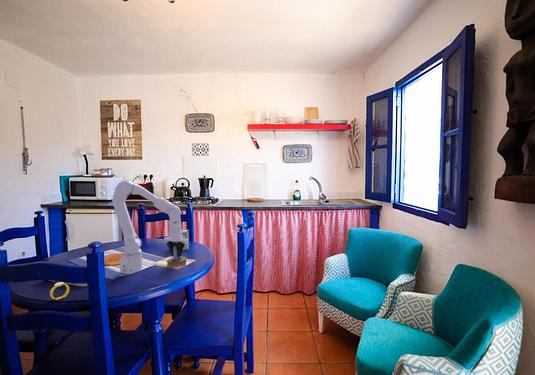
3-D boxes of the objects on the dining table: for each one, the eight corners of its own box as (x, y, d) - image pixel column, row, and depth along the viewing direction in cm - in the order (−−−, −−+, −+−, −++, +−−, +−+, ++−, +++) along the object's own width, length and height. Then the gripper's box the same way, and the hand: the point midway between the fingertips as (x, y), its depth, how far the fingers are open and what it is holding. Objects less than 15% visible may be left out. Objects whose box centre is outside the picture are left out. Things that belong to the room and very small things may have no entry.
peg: (177, 263, 136) (176, 248, 135) (172, 262, 137) (171, 247, 137) (181, 261, 139) (181, 246, 138) (176, 260, 140) (176, 245, 139)
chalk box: (174, 247, 170) (173, 224, 169) (189, 246, 171) (188, 223, 170) (171, 252, 161) (170, 227, 160) (186, 251, 162) (185, 226, 161)
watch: (53, 302, 101) (51, 288, 100) (50, 301, 102) (47, 286, 102) (71, 295, 106) (69, 280, 105) (67, 293, 108) (65, 279, 107)
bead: (177, 268, 132) (177, 263, 132) (163, 265, 136) (163, 260, 136) (189, 262, 140) (189, 257, 140) (176, 260, 144) (176, 255, 144)
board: (177, 270, 131) (177, 269, 131) (150, 265, 138) (150, 264, 138) (196, 261, 143) (196, 260, 143) (171, 257, 151) (171, 256, 151)
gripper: (192, 229, 137) (193, 255, 138) (170, 227, 143) (171, 252, 144) (182, 232, 131) (183, 259, 132) (160, 230, 137) (161, 256, 138)
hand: (176, 256), depth 138 cm, fingers closed on peg, 3 cm apart
